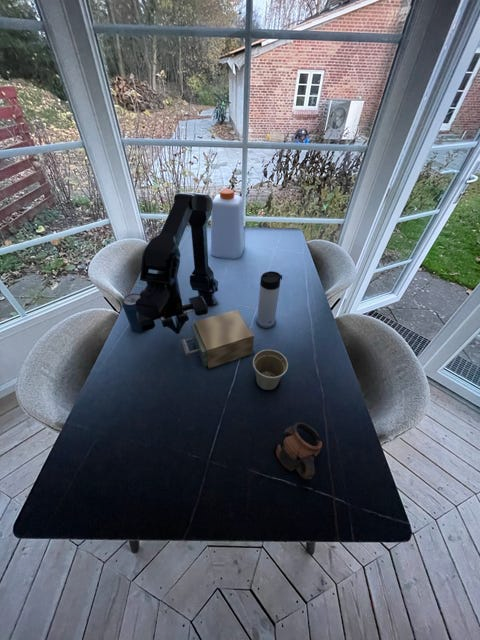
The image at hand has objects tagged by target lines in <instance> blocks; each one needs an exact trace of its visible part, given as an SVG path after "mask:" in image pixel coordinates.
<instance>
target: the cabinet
mask: <svg viewBox="0 0 480 640" xmlns="http://www.w3.org/2000/svg"><path fill="white" fill-rule="evenodd" d="M193 325H195V326H196V329H197V331H198V333H199V335H200V338H201V340H202V342H203V345H204V347H205V349H206V353H207V362H208V366H207V368H208V369H212V368H215V367H218V366H221V365H224V364H226V363H230V362H233V361H237V360H239V359H242V358H245V357H249V356H252V355H253V352H254V340H255V335H254V333H253V332H252V330H251V328H250V327H249V325H248V324H247V322H246V321H245V319H244V318H243V315H242V314H241V313H240V312H239V310H238V309H235V310H230V311H227V312H223V313H220V314H216V315H212V316H208V317H204V318H200V319H198V320H194V321H193Z"/></svg>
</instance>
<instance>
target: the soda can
mask: <svg viewBox="0 0 480 640" xmlns="http://www.w3.org/2000/svg"><path fill="white" fill-rule="evenodd" d="M139 297H140V293H130V294H127V295H126V296H124V298H123V299H122V309H123V311H124V313H125V317H126V319H127V321H128V324H129V327H130V328H131V329H132V330H134V331H135V332H142V331H141V330H140V327H139V324H138V320H137V315H136V313H137V311H138V310H137V309H136V307H135V304H136V300H137V299H138V298H139Z"/></svg>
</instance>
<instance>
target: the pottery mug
mask: <svg viewBox="0 0 480 640" xmlns="http://www.w3.org/2000/svg"><path fill="white" fill-rule="evenodd" d="M297 428H298V429H300V430H303V431H304V432H305V433H306V434H308V435H309V436H310V438H311V439H312V440H313V443H314V445H312V444H310V443H308V442H306V441H305V440H304V439H303V438H302V437H301V436H300V434H299V432H298V430H297ZM283 434H284V435H288V434H289V435H288V436H286V437H285V438H284V439H283V445H281V444H278V445H277V447H276V449H275V453H276V457H277V459H278V461H279V462H280V464H281V465H282V466H283V468H285V469H286V470H288V471H290V472H293V471H296V472H297V473H298V474H299V476H300V477H301V478H302V479H303V480H311V479H313V477H314V475H315V474H316V473H315V472H316V468H315V464H314V462H315V457H317V456H318V455H319V454H320V452H321V449H322V447H323V442H322V441H321V440H318V439H319V437H320V435H319V433H318V432H317V431H316V430H315V429H314V427H312V426H310V425H308V424H307V423H304V422H301V421H297V422H295V423H293V425H290V426H289V427H288V428H286V429H284V432H283ZM298 458H299V459H298Z"/></svg>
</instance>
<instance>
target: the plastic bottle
mask: <svg viewBox="0 0 480 640" xmlns="http://www.w3.org/2000/svg"><path fill="white" fill-rule="evenodd" d="M212 201H213V208H212V211H211V216H210V254H211V255H212V256H213V257H216V258H221V259H222V258H223V259H228V260H229V259H231V260H235V259H239V258H241V257H242V255H243V252H244V250H245V225H244V224H245V223H244V202H243V197H242V196H241V195H237V194H235V191H234V189H230V188H224V189H220V191H219V194H216V196H215V197H214V198H213V199H212Z"/></svg>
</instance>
